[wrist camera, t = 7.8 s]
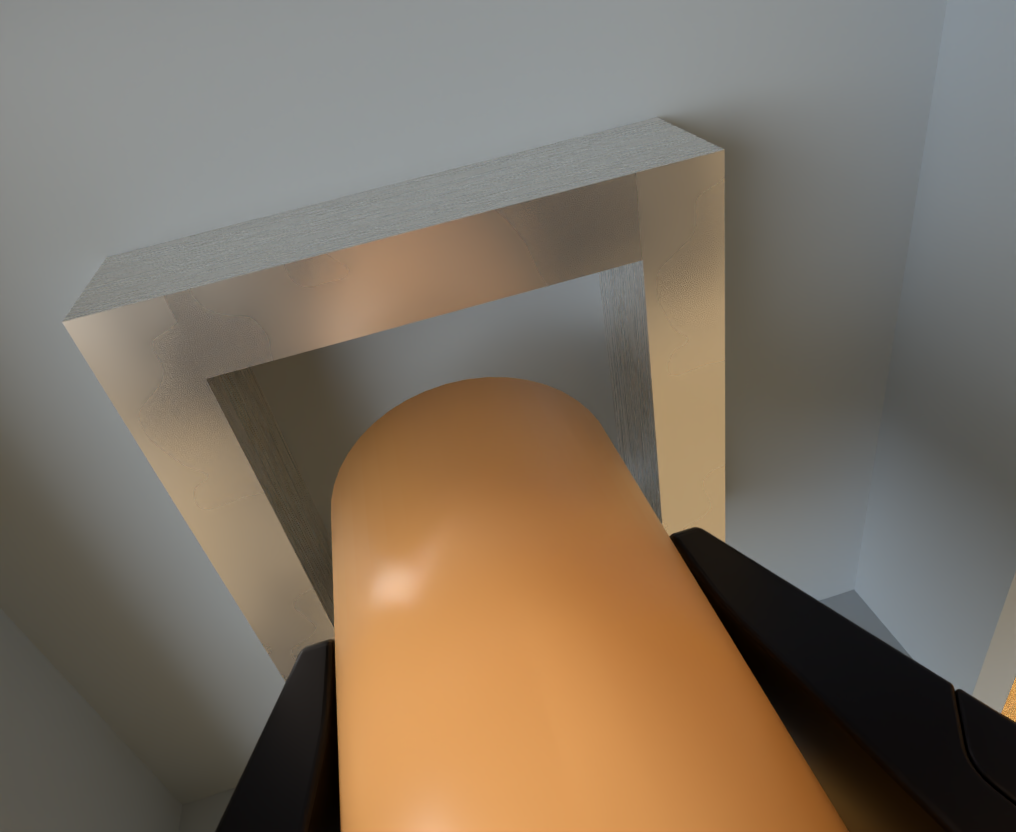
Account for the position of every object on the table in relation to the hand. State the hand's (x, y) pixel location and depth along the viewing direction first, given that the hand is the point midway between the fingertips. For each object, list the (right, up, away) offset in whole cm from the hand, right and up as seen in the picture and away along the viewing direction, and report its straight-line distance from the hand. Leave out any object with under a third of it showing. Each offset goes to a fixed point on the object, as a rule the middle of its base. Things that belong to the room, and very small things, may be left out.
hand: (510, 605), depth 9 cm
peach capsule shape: (0, +1, +2) cm, 2 cm away
